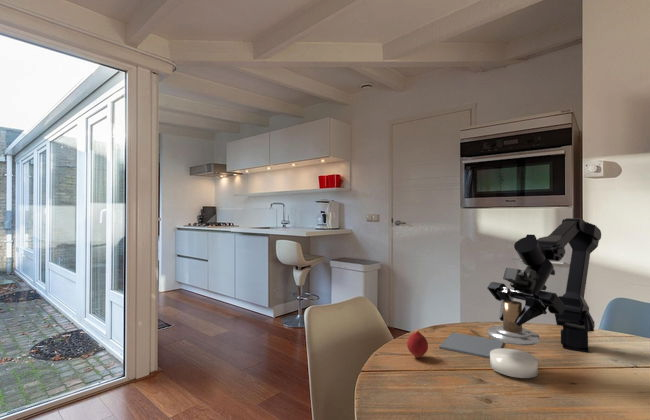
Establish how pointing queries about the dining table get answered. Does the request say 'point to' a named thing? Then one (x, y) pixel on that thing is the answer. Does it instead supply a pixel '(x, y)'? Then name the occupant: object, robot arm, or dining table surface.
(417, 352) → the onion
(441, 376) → the dining table surface
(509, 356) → the white rounded piece
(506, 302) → the cylinder on round base
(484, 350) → the mat
